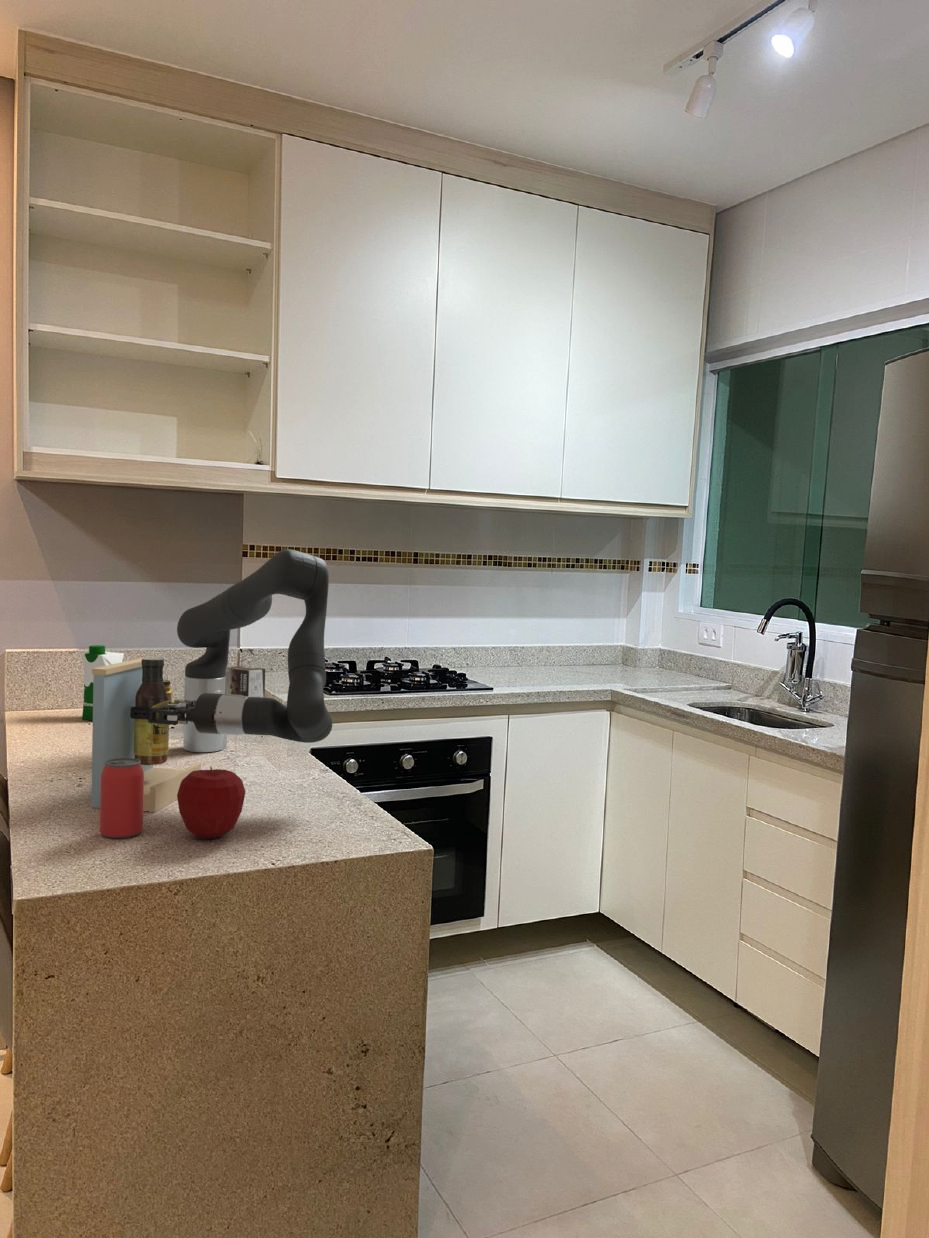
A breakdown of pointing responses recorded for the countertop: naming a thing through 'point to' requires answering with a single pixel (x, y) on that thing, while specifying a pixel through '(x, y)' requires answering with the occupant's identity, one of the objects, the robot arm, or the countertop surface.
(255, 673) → the coffee box
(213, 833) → the apple
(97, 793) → the wall board
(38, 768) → the countertop surface
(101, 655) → the milk carton
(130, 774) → the beer can
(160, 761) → the sauce bottle
